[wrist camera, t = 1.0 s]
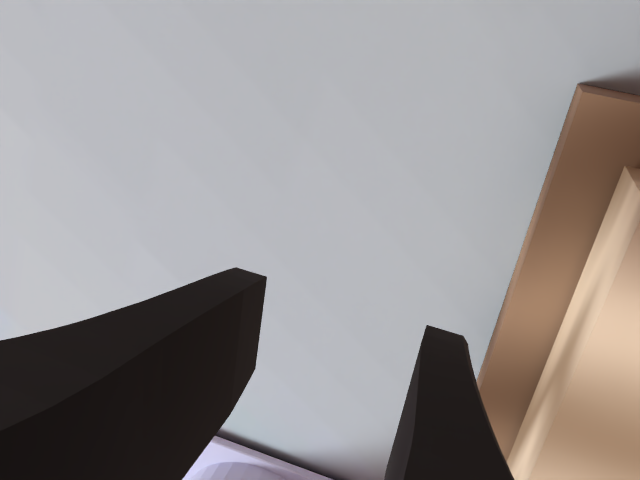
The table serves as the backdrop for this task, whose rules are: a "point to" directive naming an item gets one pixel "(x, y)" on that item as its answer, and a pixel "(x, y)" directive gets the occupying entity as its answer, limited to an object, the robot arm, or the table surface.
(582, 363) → the folding leg
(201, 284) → the robot arm
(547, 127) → the table surface
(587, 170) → the stool seat
